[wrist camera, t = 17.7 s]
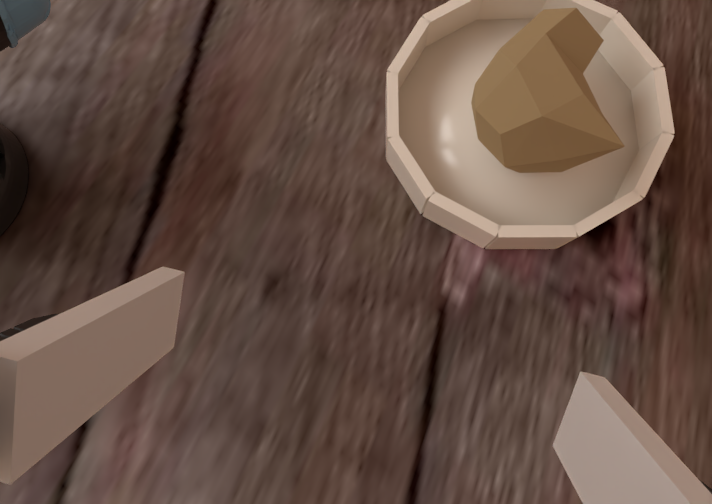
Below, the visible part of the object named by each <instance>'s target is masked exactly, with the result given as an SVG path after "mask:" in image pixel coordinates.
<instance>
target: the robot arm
mask: <svg viewBox="0 0 712 504" xmlns="http://www.w3.org/2000/svg"><path fill="white" fill-rule="evenodd" d="M50 5H51V4H50V0H0V51H2V50H4V49H5V48H7V47H8V46H9V47H10V48H14V47H16V46H17V44H18V40H19V39H21V38H22V37H23V36H25V35H26V34H28V33H29V32H30V31H32V30H33V29H34V28H36V27H37V26H39V25H40V24H41V23H43V22H44V21H45V20H46V18H47V17H48V15H49V13H50ZM28 176H29V174H28V163H27V158H26V155H25V152H24V150H23V147H22V145H21V144H20V142H19V141H18V139H17V138H16V137H15V135H14V134H13V133H12V132H11V131H10V130H8V129H7V128H6V127H4V126H3V125H1V124H0V235H2V234H3V232H4V231H5V230H6V229H7V228H8V227H9V226H10V224H11V223H12V221H13V220H14V219H15V217H16V215H17V214H18V212H19V210H20V208H21V206H22V203H23V201H24V198H25V195H26V191H27V186H28ZM184 274H185V272H183V271H179V270H175V269H171V268H167V267H161V268H158V269H156V270H154V271H152V272H150V273H148V274H145V275H143V276H141V277H139V278H137V279H135V280H132V281H130V282H128V283H126V284H124V285H121V286H119V287H117V288H115V289H113V290H111V291H108V292H106V293H104V294H102V295H100V296H98V297H95V298H93V299H91V300H89V301H87V302H85V303H82V304H80V305H78V306H76V307H74V308H72V309H69V310H67V311H65V312H63V313H61V314H59V315H58V314H52V315H48V316H43V317H38V318H34V319H31V320H29V321H26V322H24V323H22V324H19V325H17V326H15V327H14V329H11V328H10V329H8V330H6V331H4V332H1V333H0V482H2V483H6V484H12V483H13V482H14V481H15V480H16V479H18V478H19V477H20V476H21V475H22V474H24V473H25V472H26V471H27V470H28V469H30V468H31V467H32V466H33V465H34V464H35V463H37V462H38V461H39V460H40V459H41V458H43V457H44V456H45V455H46V454H47V453H49V452H50V451H51V450H52V449H53V448H55V447H56V446H57V445H58V444H59V443H61V442H62V441H63V440H64V439H65V438H66V437H68V436H69V435H70V434H71V433H72V432H74V431H75V430H76V429H77V428H78V427H80V426H81V425H82V424H83V423H84V422H86V421H87V420H88V419H89V418H90V417H92V416H93V415H94V414H95V413H96V412H98V411H99V410H100V409H101V408H102V407H103V406H105V405H106V404H107V403H108V402H109V401H111V400H112V399H113V398H114V397H115V396H117V395H118V394H119V393H120V392H121V391H123V390H124V389H125V388H126V387H127V386H129V385H130V384H131V383H132V382H133V381H134V380H136V379H137V378H138V377H139V376H140V375H142V374H143V373H144V372H145V371H146V370H148V369H149V368H150V367H151V366H152V365H154V364H155V363H156V362H157V361H158V360H160V359H161V358H162V357H163V356H164V355H165V354H167V353H168V352H169V351H170V350H171V349H173V348H174V344H175V337H176V330H177V323H178V316H179V309H180V302H181V295H182V288H183V281H184ZM553 447H554V449H555V451H556V453H557V455H558V457H559V459H560V461H561V463H562V465H563V467H564V468H565V470H566V472H567V474H568V476H569V478H570V480H571V482H572V484H573V486H574V488H575V490H576V491H577V493H578V495H579V497H580V499H581V501H582V503H583V504H712V489H711V488H709V487H708V486H707V485H705V484H704V483H703V482H701V481H700V480H699V479H698V478H697V477H696V476H695V475H694V474H693V473H692V472H691V471H690V470H689V469H688V468H687V466H686V465H685V464H684V463H683V462H682V461H681V460H680V459H679V458H678V457H677V456H676V455H675V453H674V452H673V451H672V450H671V449H670V448H669V447H668V446H667V445H666V444H665V443H664V441H663V440H662V439H661V438H660V437H659V436H658V435H657V434H656V433H655V432H654V431H653V429H652V428H651V427H650V426H649V425H648V424H647V423H646V422H645V421H644V420H643V419H642V417H641V416H640V415H639V414H638V413H637V412H636V411H635V410H634V409H633V408H632V407H631V406H630V404H629V403H628V402H627V401H626V400H625V399H624V398H623V397H622V396H621V395H620V394H619V392H618V391H617V390H616V389H615V388H614V387H613V386H612V385H611V384H610V383H609V382H608V380H607V379H606V378H605V377H601V376H597V375H593V374H589V373H585V372H581V371H580V374H579V377H578V379H577V382H576V385H575V387H574V390H573V393H572V395H571V398H570V401H569V403H568V406H567V409H566V411H565V414H564V417H563V419H562V422H561V425H560V427H559V430H558V433H557V435H556V438H555V441H554V443H553Z"/></svg>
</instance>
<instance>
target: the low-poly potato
mask: <svg viewBox="0 0 712 504" xmlns="http://www.w3.org/2000/svg"><path fill="white" fill-rule="evenodd" d="M603 41H604V40H603V39H602V38H601V36H600V35H599V34H598V33H597V32H596V30H595V29H594V28H593V27H592V26H591V24H590V23H589V22H588V21H587V20H586V18H585V17H584V16H583V15H582V14H581V12H580V11H579V10H578V9H577V8H561V9H543V10H542V11H541V12H540V13H539V14H538V15H537V16H536V17H535V18H533V19H532V20H531V21H530V22H529V23H528V24H527V25H526V26H525V27H523V28H522V29H521V30H520V31H519V32H518V33H517V34H516V35H515V36H513V37H512V38H511V39H510V40H509V41H508V42H507V43H506V44H505V45H503V46H502V47H501V48H500V49H499V50H498V52H497V53H496V55H495V56H494V58H493V59H492V60H491V62H490V63H489V65H488V66H487V68H486V69H485V70H484V72H483V73H482V75H481V76H480V78H479V79H478V80H477V82H476V83H475V86H474V91H473V96H472V101H471V104H472V110H473V115H474V121H475V126H476V131H477V137H478V140H479V141H480V142H481V143H482V144H483V145H484V146H485V147H486V148H487V149H488V150H489V151H490V152H491V153H492V154H493V155H494V156H495V157H496V159H497V160H498V161H499V162H500V163H501V164H502V165H503V166H504V167H506V168H508V169H511V170H513V171H516V172H518V173H541V172H563V171H566V170H568V169H571V168H573V167H575V166H578V165H580V164H583V163H585V162H588V161H590V160H593V159H595V158H598V157H600V156H603V155H605V154H608V153H610V152H613V151H615V150H618V149H620V148H623V147H625V146H624V144H623V143H622V141H621V140H620V138H619V137H618V136H617V134H616V133H615V131H614V130H613V128H612V127H611V125H610V124H609V123H608V121H607V120H606V118H605V117H604V115H603V114H602V112H601V110H600V108H599V106H598V104H597V102H596V100H595V97H594V95H593V93H592V91H591V89H590V87H589V85H588V83H587V81H586V79H585V77H584V75H583V73H584V71H585V70H586V68H587V66H588V65H589V63H590V62H591V60H592V58H593V57H594V55H595V54H596V52H597V50H598V49H599V47H600V46H601V44H602V42H603Z"/></svg>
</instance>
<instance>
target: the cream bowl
mask: <svg viewBox="0 0 712 504" xmlns="http://www.w3.org/2000/svg"><path fill="white" fill-rule="evenodd" d="M561 8H577V9H578V10H579V11H580V12H581V14H582V15H583V16H584V17H585V18H586V20H587V21H588V22H589V23H590V24H591V26H592V27H593V28H594V29H595V30H596V32H597V33H598V34H599V35H600V36H601V38H602V39H603V40H604V41H603V42H602V44H601V46H600V47H599V49H598V50H597V52H596V54H595V55H594V57H593V58H592V60H591V62H590V63H589V65H588V66H587V68H586V70H585V71H584V73H583V75H584V77H585V79H586V81H587V83H588V85H589V87H590V89H591V91H592V93H593V95H594V97H595V100H596V102H597V104H598V106H599V108H600V110H601V112H602V114H603V115H604V117H605V118H606V120H607V121H608V123H609V124H610V125H611V127H612V128H613V130H614V131H615V133H616V134H617V136H618V137H619V138H620V140H621V141H622V143H623V144H624V146H625V147H623V148H620V149H618V150H615V151H613V152H610V153H608V154H605V155H603V156H600V157H598V158H595V159H593V160H590V161H588V162H585V163H583V164H580V165H578V166H575V167H573V168H571V169H568V170H566V171H563V172H541V173H518V172H516V171H513V170H511V169H508V168H506V167H504V166H503V165H502V164H501V163H500V162H499V161H498V160H497V159H496V157H495V156H494V155H493V154H492V153H491V152H490V151H489V150H488V149H487V148H486V147H485V146H484V145H483V144H482V143H481V142H480V141H479V140H478V137H477V131H476V126H475V121H474V115H473V110H472V104H471V101H472V96H473V91H474V86H475V83H476V82H477V80H478V79H479V78H480V76H481V75H482V73H483V72H484V70H485V69H486V68H487V66H488V65H489V63H490V62H491V60H492V59H493V58H494V56H495V55H496V53H497V52H498V50H499V49H500V48H501V47H502V46H503V45H505V44H506V43H507V42H508V41H509V40H510V39H511V38H512V37H513V36H515V35H516V34H517V33H518V32H519V31H520V30H521V29H522V28H523V27H525V26H526V25H527V24H528V23H529V22H530V21H531V20H532V19H533V18H535V17H536V16H537V15H538V14H539V13H540V12H541V11H542V10H543V9H561ZM616 13H617V10H615V9H612V8H610V7H608V6H606V5H603V4H601V3H599V2H597V1H594V0H450V1H448V2H447V3H445V4H443V5H441V6H439V7H437V8H435V9H433V10H431V11H429V12H428V13H426V14H424V15H423V16H422V17H420V19H419V20H418V22H417V24H416V25H415V27H414V28H413V30H412V32H411V33H410V35H409V36H408V38H407V39H406V41H405V43H404V44H403V46H402V47H401V49H400V51H399V52H398V54H397V55H396V57H395V58H394V60H393V62H392V63H391V65H390V66H389V68H388V70H387V74H386V95H385V121H386V158H387V159H386V160H387V162H388V164H389V165H390V167H391V168H392V170H393V171H394V173H395V175H396V176H397V178H398V179H399V181H400V183H401V184H402V186H403V187H404V189H405V190H406V192H407V194H408V195H409V197H410V198H411V200H412V202H413V203H414V205H415V206H416V208H417V209H418V211H419V213H420V214H422V213H423V215H422V216H423V217H425V218H427V219H429V220H431V221H433V222H435V223H436V224H438V225H440V226H442V227H444V228H446V229H447V230H449V231H451V232H453V233H455V234H457V235H459V236H460V237H462V238H464V239H466V240H468V241H470V242H472V243H473V244H475V245H477V246H479V247H481V248H484V247H485V249H556V248H559V247H561V246H563V245H565V244H566V243H568V242H570V241H572V240H574V239H576V238H577V237H579V236H581V235H583V234H584V233H586V232H588V231H590V230H591V229H593V228H595V227H596V226H598V225H600V224H602V223H603V222H605V221H607V220H608V219H610V218H612V217H613V216H615V215H617V214H619V213H620V212H622V211H624V210H625V209H627V208H629V207H631V206H632V205H634V204H636V203H637V202H639V201H641V200H642V199H643V198H644V197H645V196H646V194H647V192H648V190H649V187H650V185H651V183H652V181H653V179H654V177H655V175H656V173H657V171H658V169H659V167H660V165H661V163H662V161H663V159H664V156H665V154H666V152H667V150H668V148H669V146H670V144H671V142H672V140H673V138H674V135H673V134H675V131H674V125H673V118H672V112H671V106H670V99H669V93H668V86H667V80H666V73H665V67H662V66H663V64H662V63H661V61H660V60H659V59H658V58H657V57H656V55H655V54H654V53H653V52H652V51H651V49H650V48H649V47H648V46H647V45H646V43H645V42H644V41H643V40H642V39H641V37H640V36H639V35H638V34H637V33H636V31H635V30H634V29H633V28H632V26H631V25H630V24H629V23H628V22H627V20H626V19H625V18H624V17H623V16H622V14H621V13H620V12H619V13H618V14H616Z"/></svg>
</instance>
